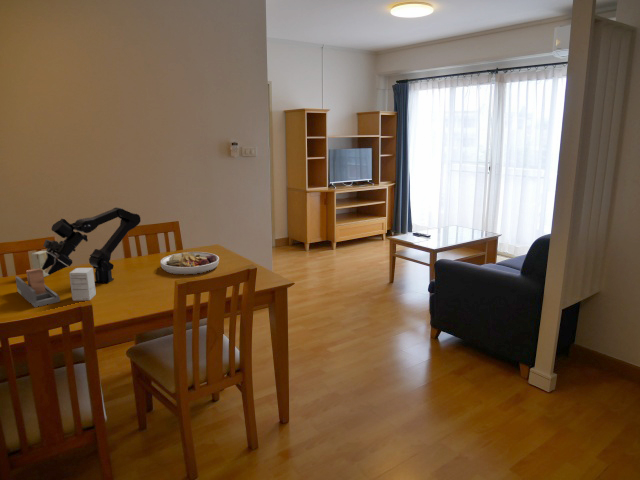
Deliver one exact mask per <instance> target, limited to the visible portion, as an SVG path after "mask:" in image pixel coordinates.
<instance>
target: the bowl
mask: <svg viewBox="0 0 640 480" xmlns="http://www.w3.org/2000/svg"><path fill="white" fill-rule="evenodd" d="M219 262H220V257H219V256H218V255H217V254H214V253H211V252H206V251H204V252H203V251H186V252H180V253H174V254H169V255H167V256H164V257H163V258H161V259H160V266H161V268H162V270H164V271H165V272H167V273H169V274H172V273H173V274H172V275H178V274H184V275H183V276H186V275H185V274H193V275H198V274H197V273H200V274H204V273H203V272H205V273H207V272H206V271H208V272H210V271H213V270H214V269H216V267H218V265H219ZM209 270H210V271H209Z"/></svg>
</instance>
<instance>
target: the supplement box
mask: <svg viewBox="0 0 640 480" xmlns="http://www.w3.org/2000/svg"><path fill="white" fill-rule="evenodd" d="M68 275H69V282H70V289H71V298H72V301H74V302H75V301H91V300H92V299H93V298H95V296H96V294H97V291H96V283H95V281H96V280H95V272H94V268H93V267H76V268H74V269H73V270H71V271H70V272H69V273H68Z"/></svg>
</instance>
